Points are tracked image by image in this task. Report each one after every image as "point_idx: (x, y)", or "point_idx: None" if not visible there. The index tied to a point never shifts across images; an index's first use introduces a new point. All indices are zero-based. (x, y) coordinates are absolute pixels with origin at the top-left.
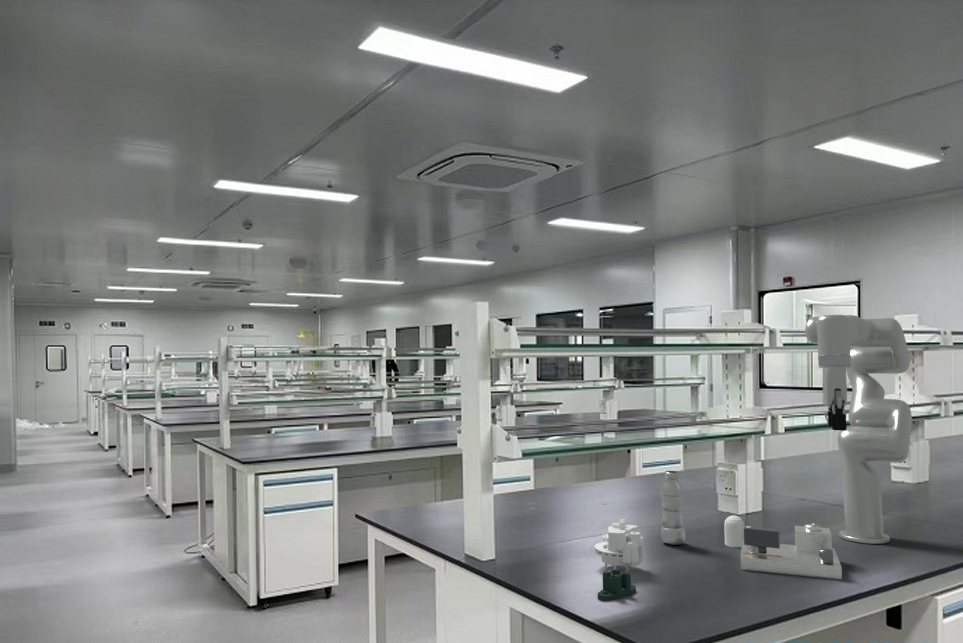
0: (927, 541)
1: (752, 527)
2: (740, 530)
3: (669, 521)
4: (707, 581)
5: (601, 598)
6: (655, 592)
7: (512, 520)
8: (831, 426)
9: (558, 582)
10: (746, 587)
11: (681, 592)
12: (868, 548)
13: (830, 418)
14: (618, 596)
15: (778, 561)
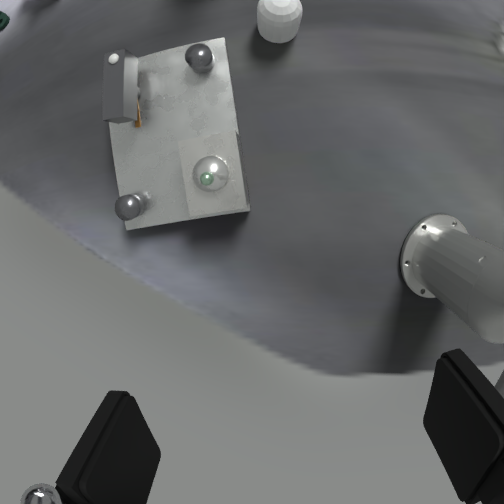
0: (439, 342)
1: (118, 64)
2: (264, 24)
3: None
4: (48, 62)
5: None
6: (5, 42)
7: None
8: (438, 367)
9: None
10: (43, 111)
11: (10, 61)
12: (370, 263)
13: (465, 408)
14: None
15: (110, 128)
